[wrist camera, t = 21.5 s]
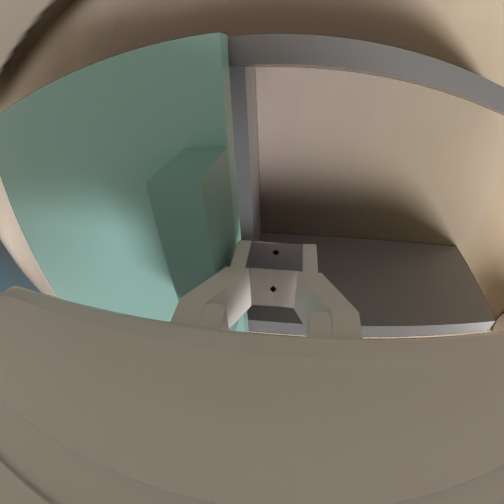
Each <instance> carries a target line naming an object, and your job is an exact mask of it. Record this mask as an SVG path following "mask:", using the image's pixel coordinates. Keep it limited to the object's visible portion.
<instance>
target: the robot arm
mask: <svg viewBox="0 0 504 504" xmlns="http://www.w3.org/2000/svg"><path fill="white" fill-rule="evenodd" d="M251 305H263V306H278V307H288V308H294V310H295V311H296V313H297V315H298V316H299V318H300V320H301V321H302V323H303V325H304V326H305V328H306V329H307V332H306V337H300V336H285V335H273V334H261V333H251V332H241V331H232V330H229V328H230V327H231V326H232V325H233V324H234V323H235V322H236V321H237V320H238V319H239V318H240V317H241V316H242V315H243V314H244V313H245V312H246V311H247V310H248V309H249V308H250V307H251ZM0 504H504V330H502V331H495V332H487V333H478V334H468V335H456V336H443V337H425V338H396V339H362V331H361V323H360V316H359V312H358V311H357V310H356V309H355V308H354V307H353V306H352V304H351V303H350V302H349V301H348V300H347V299H346V298H345V297H344V296H343V295H342V294H341V293H340V292H339V291H338V290H337V289H336V287H335V286H334V285H333V284H332V283H331V282H330V281H329V280H328V279H327V278H326V277H325V276H324V275H323V274H322V273H318V264H317V247H316V245H315V244H287V243H275V242H262V241H249V240H239V241H238V243H237V246H236V249H235V252H234V255H233V258H232V261H231V264H230V267H225V268H223V269H222V270H220V271H219V272H218V273H216V274H215V275H213V276H212V277H210V278H209V279H207V280H206V281H204V282H203V283H202V284H200V285H199V286H197V287H196V288H194V289H193V290H192V291H190V292H189V293H187V294H186V295H184V296H183V297H181V298H180V300H179V302H178V305H177V307H176V309H175V312H174V314H173V316H172V319H171V321H170V322H167V321H161V320H155V319H150V318H144V317H139V316H134V315H129V314H124V313H119V312H114V311H110V310H105V309H101V308H96V307H92V306H88V305H84V304H79V303H75V302H71V301H68V300H64V299H60V298H56V297H53V296H49V295H45V294H42V293H39V292H35V291H32V290H28V289H25V288H22V287H19V286H13V287H10V288H9V289H7V290H5V291H4V292H2V293H1V294H0Z"/></svg>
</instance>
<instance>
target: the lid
mask: <svg viewBox="0 0 504 504" xmlns="http://www.w3.org/2000/svg"><path fill="white" fill-rule="evenodd" d="M0 176H1V179H2V182H3V185H4V187H5V190H6V193H7V196H8V198H9V201H10V204H11V206H12V209H13V211H14V214H15V216H16V218H17V221H18V223H19V225H20V228H21V230H22V232H23V234H24V236H25V238H26V240H27V242H28V245H29V247H30V249H31V251H32V253H33V254H34V256H35V258H36V260H37V262H38V264H39V266H40V268H41V269H42V271H43V273H44V275H45V276H46V278H47V280H48V282H49V283H50V285H51V287H52V288H53V290H54V292H55V293H56V295H57V296H58V298H60V299H64V300H68V301H71V302H75V303H79V304H84V305H88V306H92V307H96V308H101V309H105V310H110V311H114V312H119V313H124V314H129V315H134V316H139V317H144V318H150V319H155V320H161V321H167V322H170V321H171V319H172V316H173V314H174V312H175V309H176V307H177V305H178V302H179V300H180V298H181V297H183V296H184V295H186V294H187V293H189V292H190V291H192V290H193V289H194V288H196V287H197V286H199V285H200V284H202V283H203V282H204V281H206V280H207V279H209V278H210V277H212V276H213V275H215V274H216V273H218V272H219V271H220V270H222V269H223V268H225V267H230V264H231V261H232V258H233V255H234V252H235V249H236V246H237V243H238V241H239V240H241V231H240V218H239V205H238V191H237V178H236V164H235V150H234V135H233V121H232V105H231V90H230V74H229V57H228V40H227V35H225V34H223V33H221V32H217V33H210V34H203V35H196V36H190V37H185V38H180V39H175V40H170V41H166V42H161V43H157V44H153V45H149V46H146V47H142V48H138V49H135V50H132V51H128V52H125V53H122V54H119V55H116V56H113V57H110V58H107V59H105V60H102V61H99V62H97V63H94V64H91V65H89V66H86V67H84V68H82V69H79V70H77V71H75V72H73V73H70V74H68V75H66V76H64V77H62V78H60V79H58V80H56V81H54V82H52V83H50V84H48V85H46V86H44V87H42V88H40V89H38V90H37V91H35V92H33V93H31V94H30V95H28V96H26V97H24V98H23V99H21V100H20V101H18V102H16V103H15V104H13V105H12V106H10V107H9V108H7V109H6V110H4V111H3V112H1V113H0ZM229 330H232V331H241V332H249V327H248V316H247V311H246V312H245V313H244V314H243V315H242V316H241V317H240V318H239V319H238V320H237V321H236V322H235V323H234V324H233V325H232V326H231V327H230V328H229Z"/></svg>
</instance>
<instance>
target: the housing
mask: <svg viewBox="0 0 504 504" xmlns="http://www.w3.org/2000/svg"><path fill="white" fill-rule="evenodd" d="M227 40H228V57H229V74H230V90H231V105H232V121H233V135H234V150H235V164H236V178H237V191H238V205H239V218H240V231H241V240H249V241H262V242H275V243H287V244H315V245H316V247H317V264H318V273H322V274H323V275H324V276H325V277H326V278H327V279H328V280H329V281H330V282H331V283H332V284H333V285H334V286H335V287H336V289H337V290H338V291H339V292H340V293H341V294H342V295H343V296H344V297H345V298H346V299H347V300H348V301H349V302H350V303H351V304H352V306H353V307H354V308H355V309H356V310H357V311H358V312H359V316H360V323H361V331H362V337H408V336H431V335H447V334H460V333H471V332H481V331H488V330H489V329H490V328H491V326H492V325H493V324H494V322H495V318H494V316H493V314H492V312H491V309H490V307H489V305H488V303H487V301H486V299H485V297H484V295H483V293H482V291H481V289H480V287H479V285H478V283H477V281H476V279H475V277H474V275H473V274H472V272H471V270H470V268H469V266H468V265H467V263H466V261H465V259H464V258H463V256H462V254H461V253H460V251H459V249H458V248H457V246H448V245H437V244H425V243H413V242H401V241H388V240H375V239H361V238H347V237H332V236H316V235H299V234H281V233H262V232H261V215H260V183H259V153H258V125H257V100H256V76H255V67H302V68H319V69H331V70H340V71H349V72H356V73H363V74H370V75H375V76H381V77H386V78H391V79H396V80H400V81H405V82H409V83H413V84H417V85H421V86H425V87H428V88H432V89H435V90H438V91H442V92H445V93H448V94H451V95H454V96H457V97H460V98H462V99H465V100H468V101H471V102H473V103H476V104H478V105H481V106H483V107H485V108H488V109H490V110H492V111H495V112H497V113H499V114H502V115H504V87H502V86H500V85H498V84H496V83H494V82H492V81H490V80H488V79H486V78H484V77H482V76H479V75H477V74H475V73H473V72H470V71H468V70H465V69H463V68H461V67H458V66H455V65H453V64H450V63H447V62H445V61H442V60H439V59H436V58H433V57H430V56H426V55H423V54H420V53H416V52H413V51H409V50H405V49H401V48H397V47H393V46H388V45H384V44H379V43H374V42H368V41H362V40H356V39H349V38H341V37H332V36H321V35H306V34H253V35H237V36H227ZM247 316H248V327H249V331H255V332H266V333H279V334H293V335H306V332H307V329H306V328H305V326H304V325H303V323H302V321H301V320H300V318H299V316H298V315H297V313H296V311H295V310H294V308H288V307H278V306H263V305H251V307H250V308H249V309H248V310H247Z"/></svg>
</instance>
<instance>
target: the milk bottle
mask: <svg viewBox="0 0 504 504" xmlns="http://www.w3.org/2000/svg"><path fill="white" fill-rule="evenodd" d="M502 330H504V313H503V314H502V315H501V316H500V317H499V318H498V319H497V321H496V322H495V324H494V326H493V332H495V331H502Z"/></svg>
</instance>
